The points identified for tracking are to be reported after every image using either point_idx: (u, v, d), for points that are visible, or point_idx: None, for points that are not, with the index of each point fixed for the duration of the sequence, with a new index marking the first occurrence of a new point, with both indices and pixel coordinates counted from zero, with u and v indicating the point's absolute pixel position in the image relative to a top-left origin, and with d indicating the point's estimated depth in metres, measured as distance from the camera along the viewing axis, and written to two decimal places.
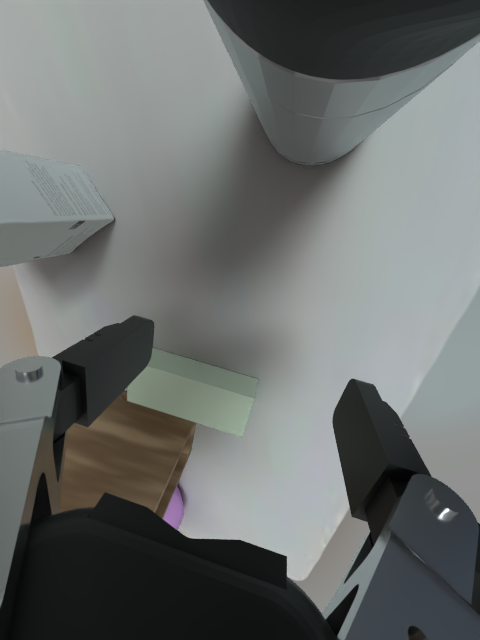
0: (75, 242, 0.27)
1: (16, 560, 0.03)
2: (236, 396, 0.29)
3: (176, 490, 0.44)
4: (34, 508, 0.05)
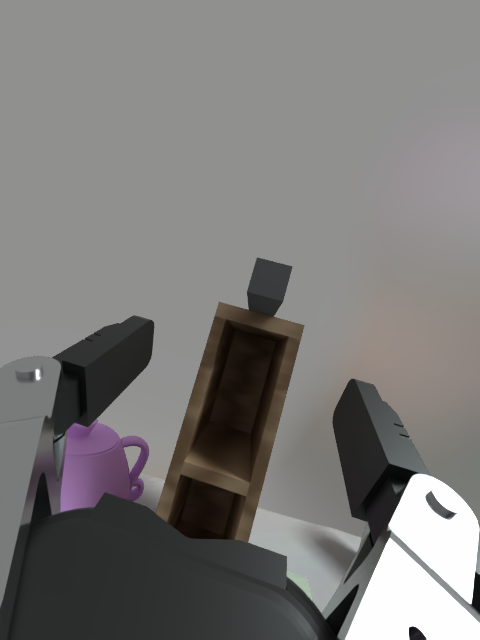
0: None
1: (16, 560, 0.03)
2: None
3: None
4: (34, 508, 0.05)
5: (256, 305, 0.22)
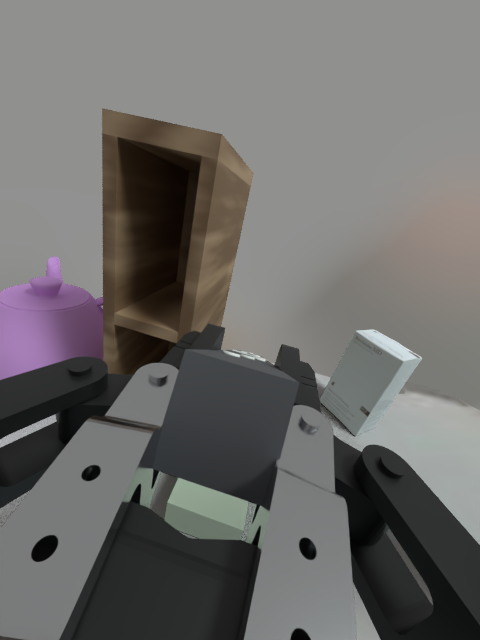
0: (335, 406, 0.42)
1: (89, 582, 0.03)
2: (242, 503, 0.23)
3: None
4: None
5: None
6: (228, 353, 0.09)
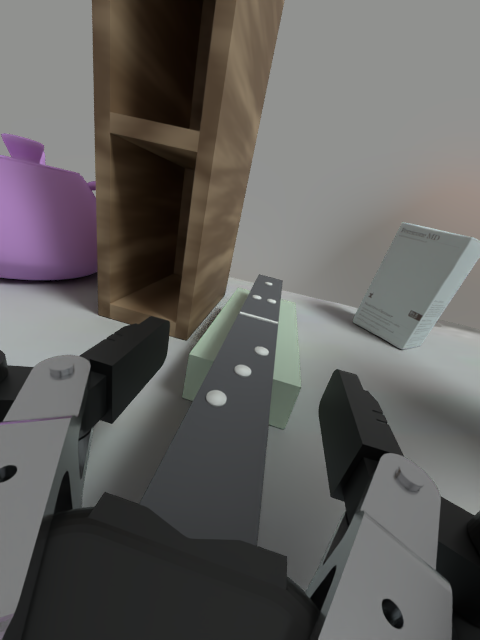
0: (373, 322, 0.35)
1: (34, 561, 0.03)
2: (291, 365, 0.17)
3: (21, 270, 0.25)
4: (57, 504, 0.05)
5: None
6: (211, 405, 0.08)
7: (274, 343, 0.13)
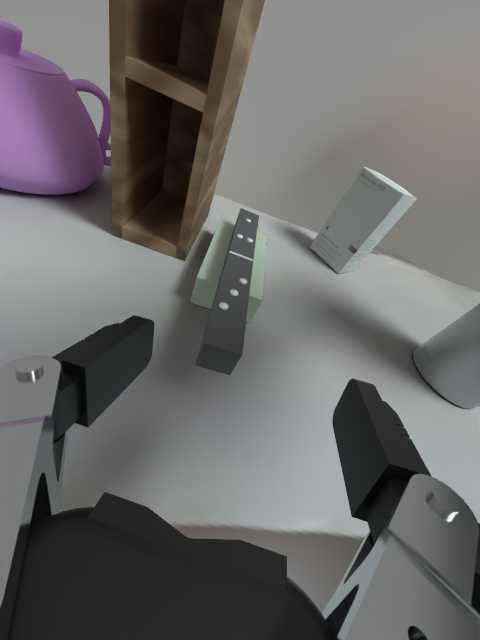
0: (324, 250, 0.45)
1: (16, 560, 0.03)
2: (258, 286, 0.27)
3: (33, 186, 0.28)
4: (34, 508, 0.05)
5: None
6: (222, 308, 0.19)
7: (250, 275, 0.23)
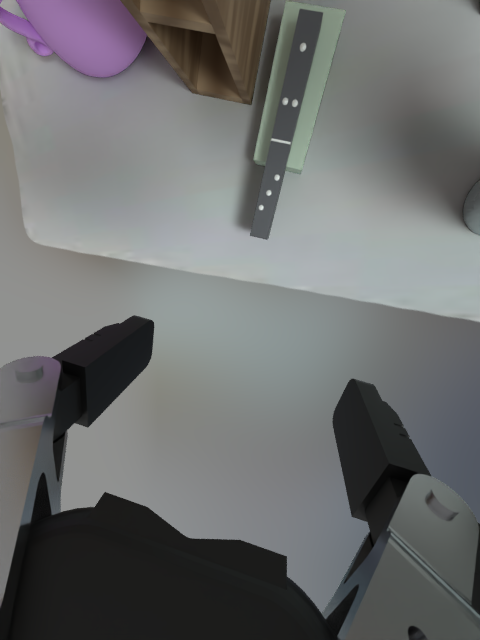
0: None
1: (16, 560, 0.03)
2: (302, 151, 0.34)
3: None
4: (34, 508, 0.05)
5: None
6: (259, 210, 0.35)
7: (283, 167, 0.33)
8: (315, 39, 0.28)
